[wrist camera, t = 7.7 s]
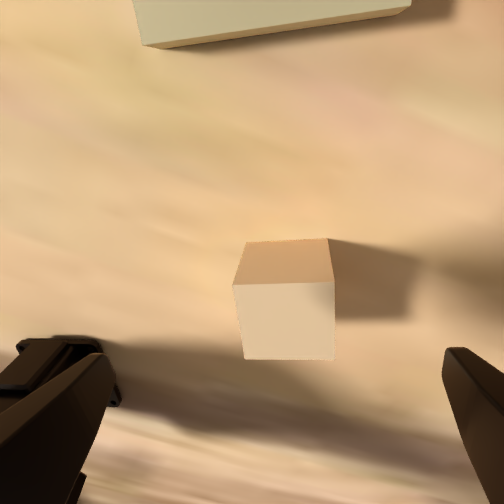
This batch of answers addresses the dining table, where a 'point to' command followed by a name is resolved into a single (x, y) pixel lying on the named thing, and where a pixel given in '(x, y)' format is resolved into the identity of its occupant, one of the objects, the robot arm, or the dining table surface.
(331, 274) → the brick cream
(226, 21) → the base plate
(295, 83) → the dining table surface
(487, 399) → the robot arm
